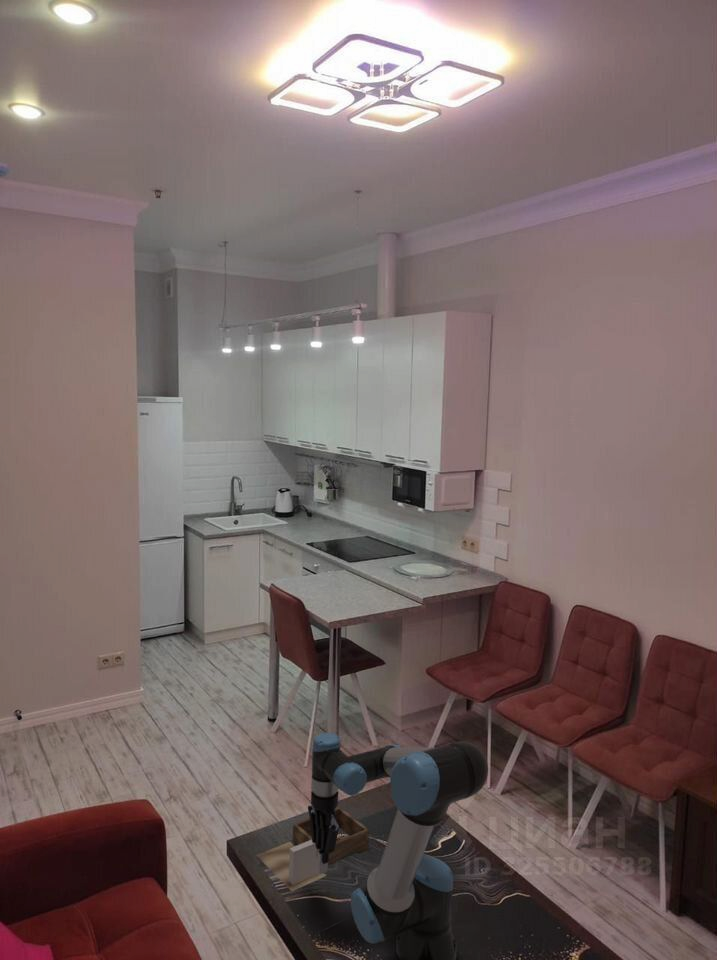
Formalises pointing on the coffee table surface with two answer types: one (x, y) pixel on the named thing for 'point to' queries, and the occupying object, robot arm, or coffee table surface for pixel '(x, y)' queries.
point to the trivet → (284, 865)
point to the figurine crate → (347, 844)
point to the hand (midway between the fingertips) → (322, 871)
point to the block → (302, 862)
